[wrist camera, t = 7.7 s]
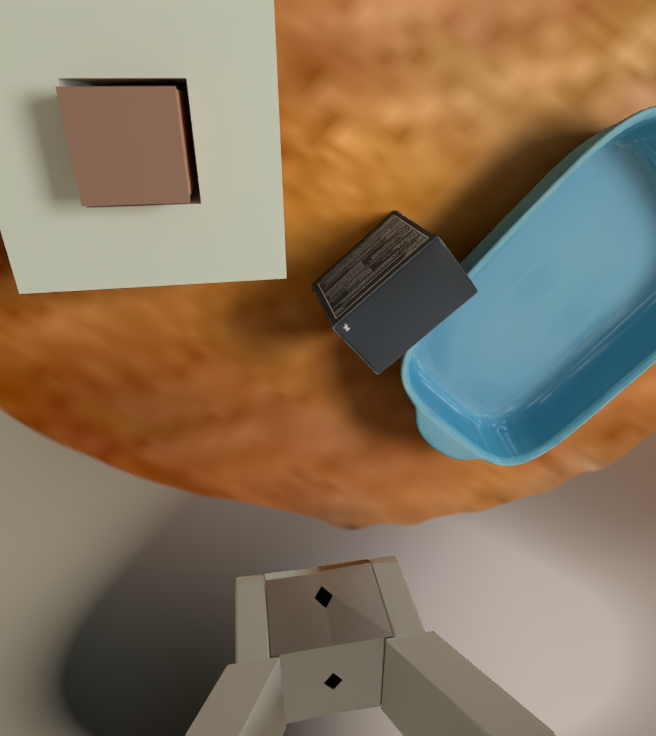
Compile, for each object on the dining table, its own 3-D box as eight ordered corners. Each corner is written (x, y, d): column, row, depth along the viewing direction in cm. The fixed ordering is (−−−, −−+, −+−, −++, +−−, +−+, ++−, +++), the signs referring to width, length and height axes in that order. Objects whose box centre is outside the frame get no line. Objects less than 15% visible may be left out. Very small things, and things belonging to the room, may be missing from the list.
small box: (352, 331, 51) (378, 381, 42) (308, 285, 48) (327, 328, 39) (435, 259, 49) (483, 294, 40) (395, 206, 46) (437, 232, 37)
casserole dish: (633, 48, 43) (701, 38, 37) (736, 223, 53) (804, 239, 46) (341, 355, 52) (355, 389, 46) (473, 459, 61) (500, 499, 55)
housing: (-11, -13, 35) (-93, -54, 26) (268, -7, 37) (278, -42, 28) (58, 260, 43) (14, 300, 34) (280, 249, 46) (292, 283, 37)
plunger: (103, 92, 38) (55, 86, 27) (190, 91, 39) (174, 86, 28) (120, 180, 40) (81, 206, 30) (200, 178, 41) (189, 202, 31)
